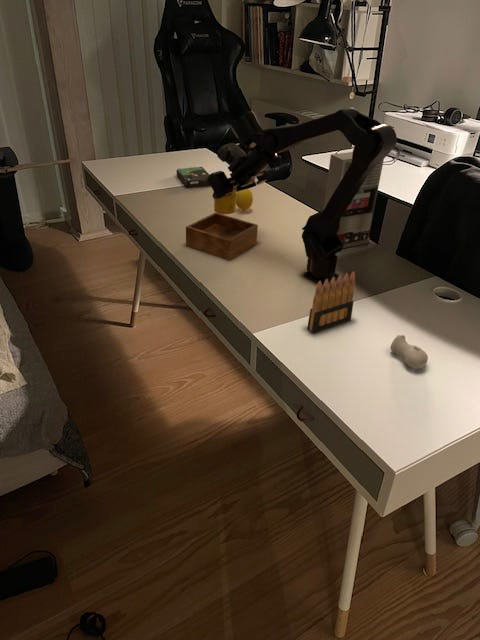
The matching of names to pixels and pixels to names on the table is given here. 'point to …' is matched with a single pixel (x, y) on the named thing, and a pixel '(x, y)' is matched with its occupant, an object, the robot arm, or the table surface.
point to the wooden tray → (221, 235)
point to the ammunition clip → (332, 304)
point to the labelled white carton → (354, 200)
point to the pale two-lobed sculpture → (409, 352)
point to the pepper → (226, 203)
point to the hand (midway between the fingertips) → (221, 194)
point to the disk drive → (193, 176)
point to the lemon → (244, 199)
